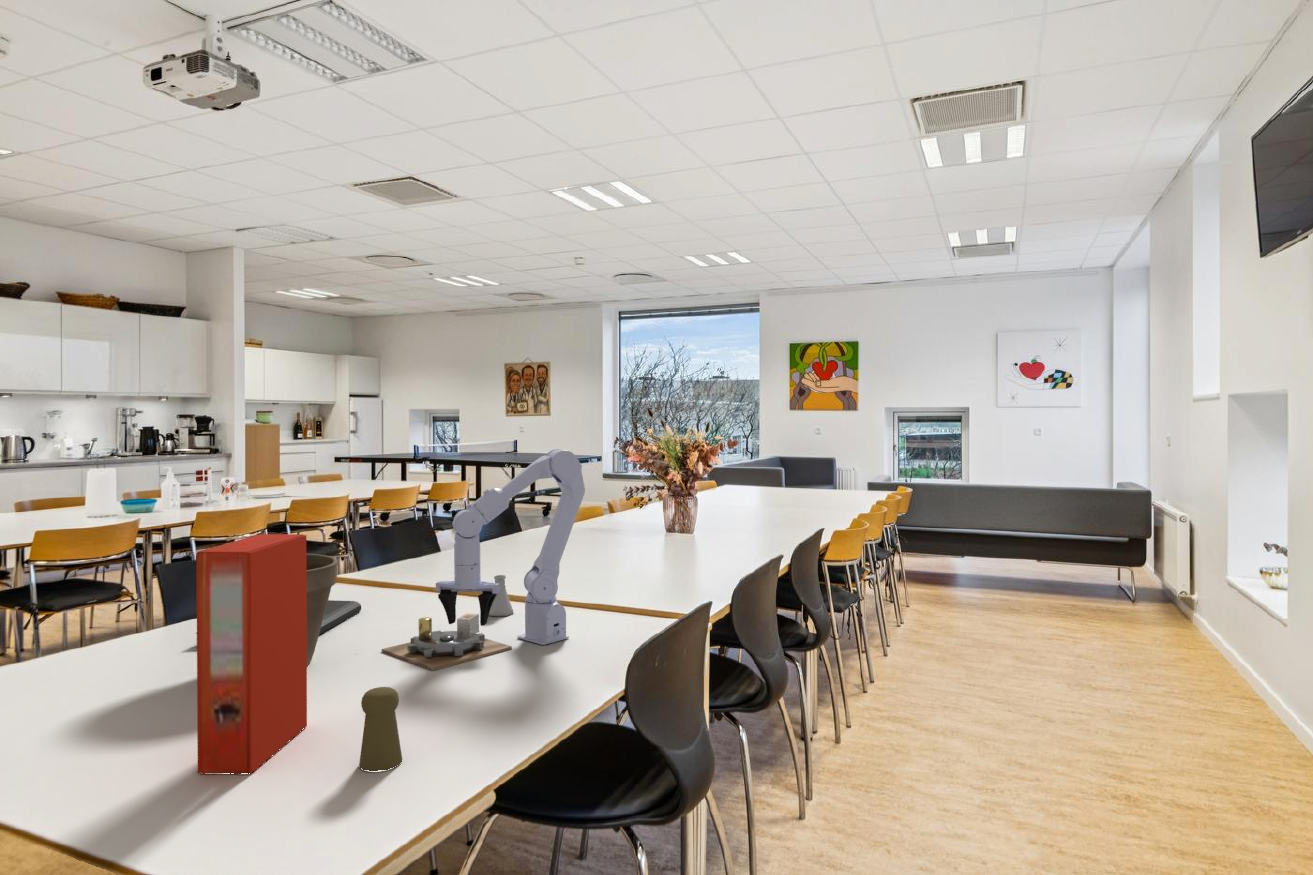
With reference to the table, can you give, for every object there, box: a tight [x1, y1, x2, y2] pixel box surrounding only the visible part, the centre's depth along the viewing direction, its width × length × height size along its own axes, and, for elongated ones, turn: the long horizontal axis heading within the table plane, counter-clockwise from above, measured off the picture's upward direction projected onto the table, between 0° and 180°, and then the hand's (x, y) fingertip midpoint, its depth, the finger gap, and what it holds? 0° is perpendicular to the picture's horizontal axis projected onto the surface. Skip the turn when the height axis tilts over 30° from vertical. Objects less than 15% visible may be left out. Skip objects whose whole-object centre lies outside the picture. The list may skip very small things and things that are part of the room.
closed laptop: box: [196, 599, 362, 643], centre depth 191 cm, size 33×4×24 cm
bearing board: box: [381, 637, 513, 671], centre depth 172 cm, size 20×20×1 cm
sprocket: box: [408, 616, 486, 658], centre depth 172 cm, size 17×17×6 cm
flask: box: [488, 574, 514, 617], centre depth 205 cm, size 7×7×10 cm
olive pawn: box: [358, 686, 403, 771], centre depth 115 cm, size 6×6×11 cm
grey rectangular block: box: [456, 613, 480, 637], centre depth 176 cm, size 3×5×4 cm, turn 170°
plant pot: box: [306, 553, 339, 667], centre depth 161 cm, size 25×25×22 cm
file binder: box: [195, 533, 308, 775], centre depth 120 cm, size 8×17×32 cm, turn 179°
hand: (467, 623), depth 176 cm, fingers open, 7 cm apart
